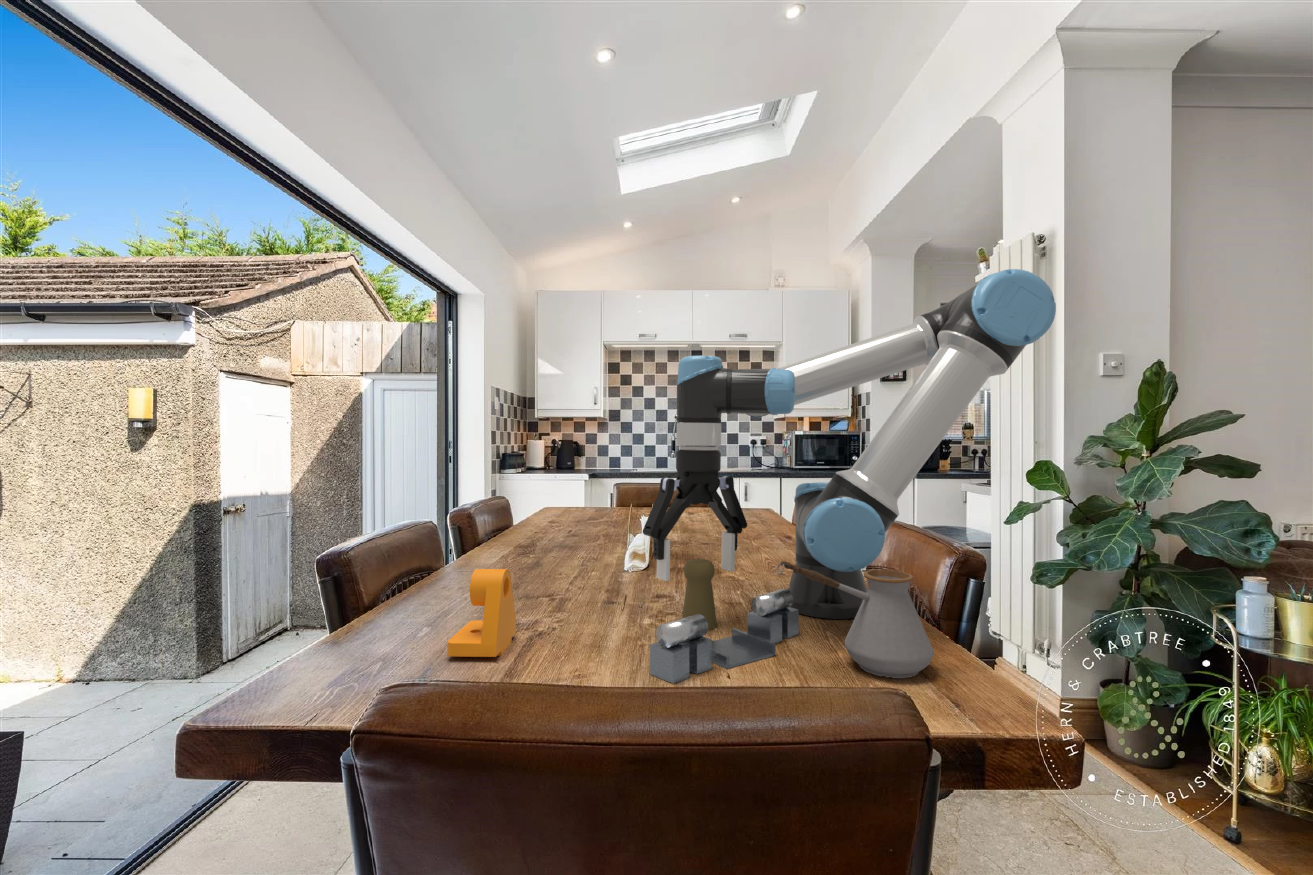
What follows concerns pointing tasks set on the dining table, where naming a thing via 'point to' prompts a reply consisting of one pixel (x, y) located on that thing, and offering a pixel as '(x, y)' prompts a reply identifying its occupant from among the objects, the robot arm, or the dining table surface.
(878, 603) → the coffee pot
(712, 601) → the olive pepper mill
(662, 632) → the shaft
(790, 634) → the shaft
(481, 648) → the bracket
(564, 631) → the dining table surface
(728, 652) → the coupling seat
